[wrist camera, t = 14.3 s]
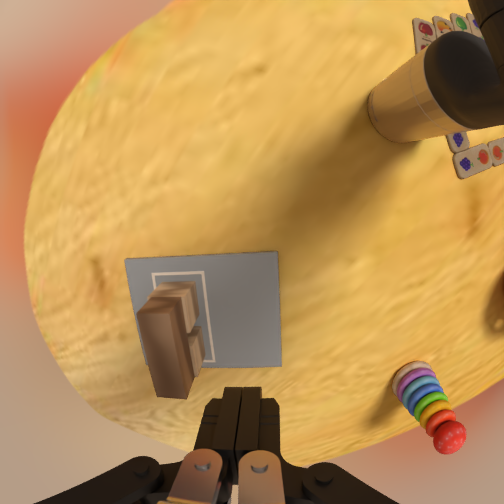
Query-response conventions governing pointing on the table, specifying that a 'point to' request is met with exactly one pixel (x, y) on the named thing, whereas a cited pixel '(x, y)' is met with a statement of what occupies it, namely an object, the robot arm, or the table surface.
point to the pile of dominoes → (465, 157)
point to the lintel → (166, 346)
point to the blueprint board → (222, 302)
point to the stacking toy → (429, 405)
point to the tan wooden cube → (187, 295)
